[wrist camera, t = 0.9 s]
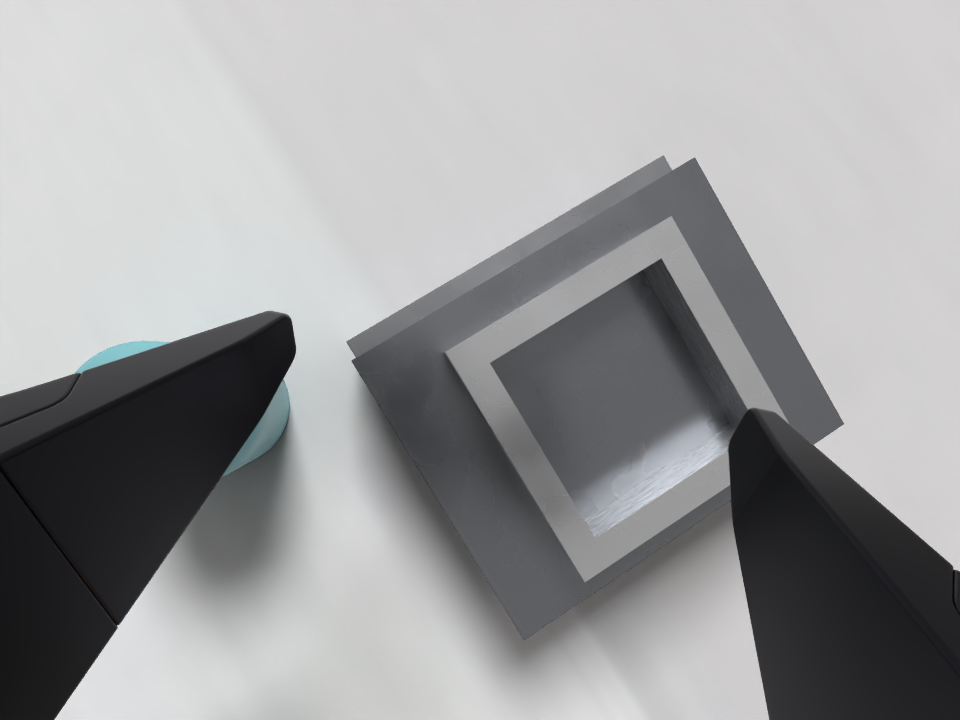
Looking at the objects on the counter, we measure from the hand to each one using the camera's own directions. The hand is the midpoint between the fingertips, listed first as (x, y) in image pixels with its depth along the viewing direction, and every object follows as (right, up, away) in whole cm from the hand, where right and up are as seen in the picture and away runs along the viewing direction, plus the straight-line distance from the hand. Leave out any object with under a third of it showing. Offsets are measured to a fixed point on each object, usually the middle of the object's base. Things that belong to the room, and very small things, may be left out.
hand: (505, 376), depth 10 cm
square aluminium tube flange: (+4, -1, +13) cm, 13 cm away
